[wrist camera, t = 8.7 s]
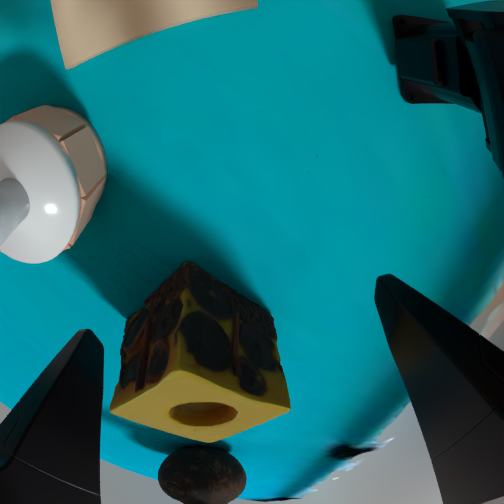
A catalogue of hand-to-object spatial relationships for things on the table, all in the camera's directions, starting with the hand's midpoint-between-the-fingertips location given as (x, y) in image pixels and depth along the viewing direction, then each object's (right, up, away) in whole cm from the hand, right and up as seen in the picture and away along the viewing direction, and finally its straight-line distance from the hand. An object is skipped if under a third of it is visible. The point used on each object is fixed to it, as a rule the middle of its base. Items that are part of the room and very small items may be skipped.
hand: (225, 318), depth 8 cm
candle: (-4, -4, +19) cm, 20 cm away
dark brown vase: (-10, -39, +43) cm, 59 cm away
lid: (-13, +5, +5) cm, 15 cm away
